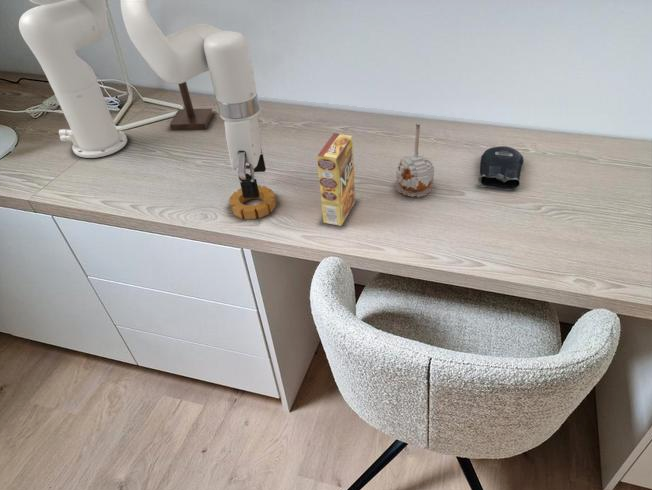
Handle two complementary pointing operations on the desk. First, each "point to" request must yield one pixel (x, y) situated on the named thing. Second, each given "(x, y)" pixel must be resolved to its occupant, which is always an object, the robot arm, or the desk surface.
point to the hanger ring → (253, 210)
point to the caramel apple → (415, 172)
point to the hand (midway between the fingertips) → (255, 183)
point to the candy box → (336, 178)
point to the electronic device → (500, 168)
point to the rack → (190, 114)
